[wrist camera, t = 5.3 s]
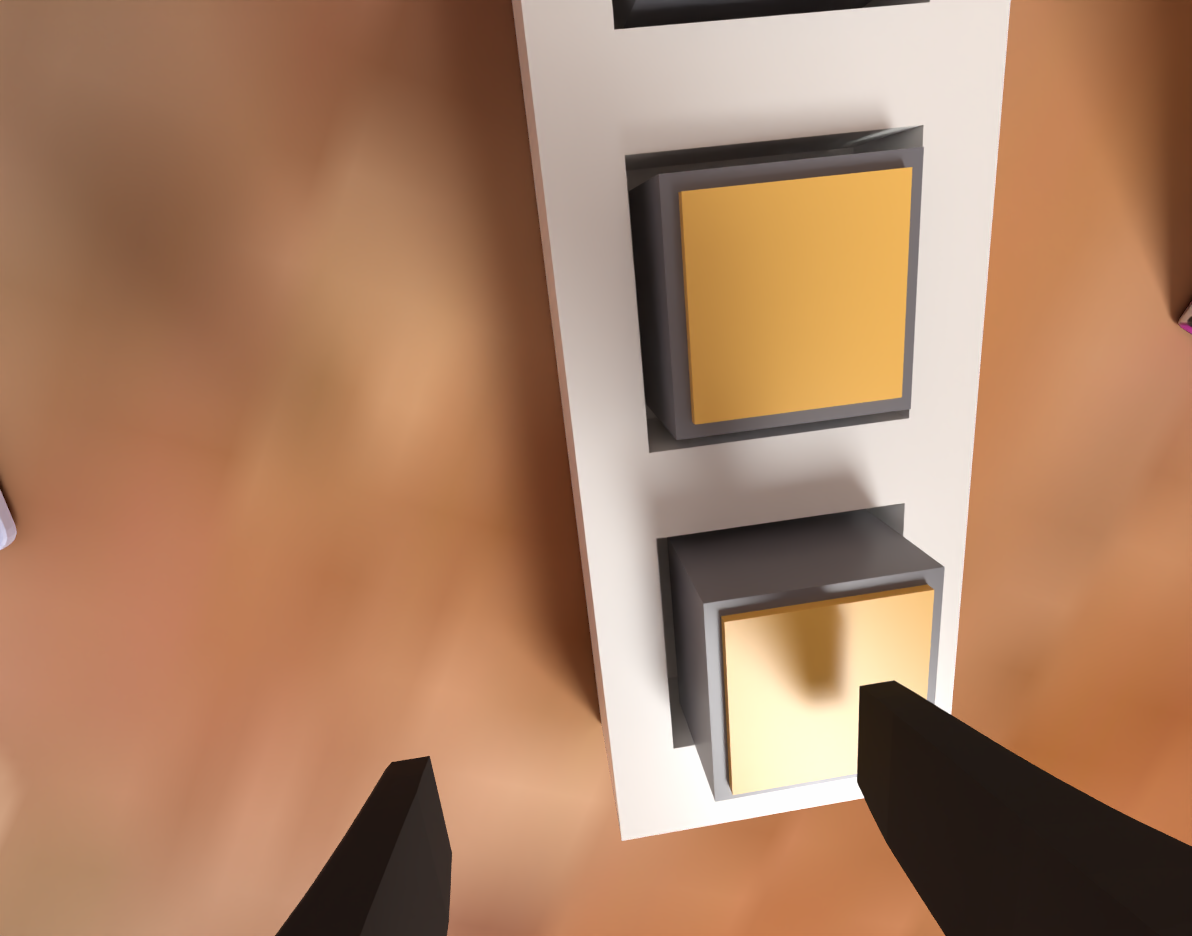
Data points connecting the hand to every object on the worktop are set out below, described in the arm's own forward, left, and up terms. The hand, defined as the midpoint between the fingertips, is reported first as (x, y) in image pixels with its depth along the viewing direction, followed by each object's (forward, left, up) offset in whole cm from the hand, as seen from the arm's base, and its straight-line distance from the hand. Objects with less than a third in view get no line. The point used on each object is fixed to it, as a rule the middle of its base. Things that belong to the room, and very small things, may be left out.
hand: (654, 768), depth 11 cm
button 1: (+4, 0, -4) cm, 5 cm away
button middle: (+3, +7, -6) cm, 10 cm away
